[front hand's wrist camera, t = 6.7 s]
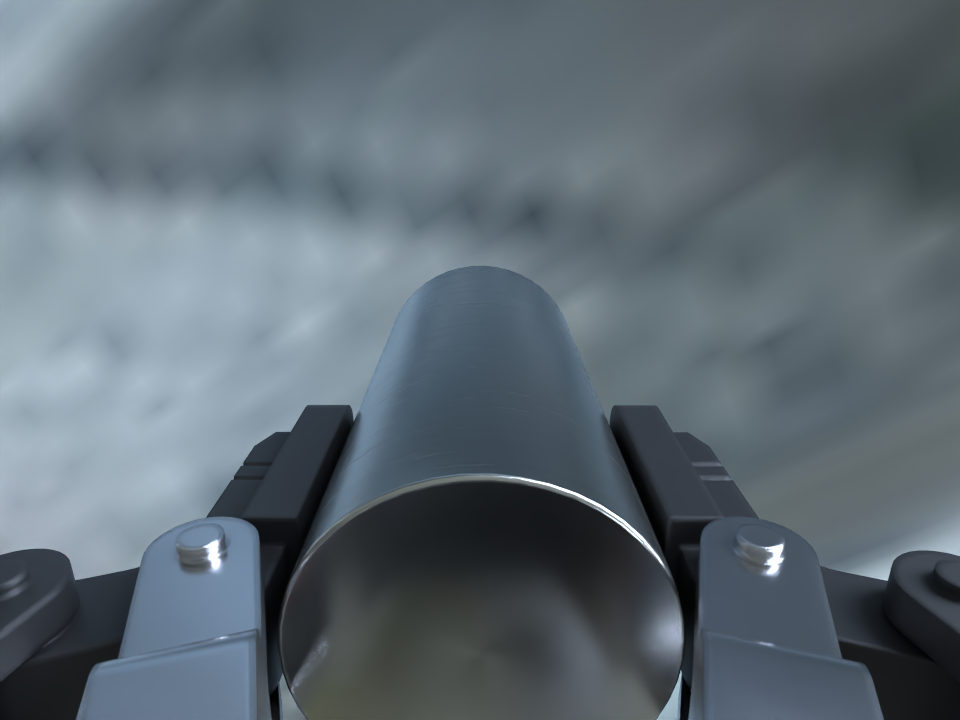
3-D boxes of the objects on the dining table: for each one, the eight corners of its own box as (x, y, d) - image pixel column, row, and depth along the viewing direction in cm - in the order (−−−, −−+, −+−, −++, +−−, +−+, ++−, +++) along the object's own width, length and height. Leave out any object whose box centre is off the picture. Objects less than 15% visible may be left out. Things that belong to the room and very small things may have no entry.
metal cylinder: (604, 312, 16) (768, 573, 7) (521, 461, 18) (567, 840, 8) (433, 234, 15) (366, 407, 6) (362, 395, 17) (222, 730, 8)
